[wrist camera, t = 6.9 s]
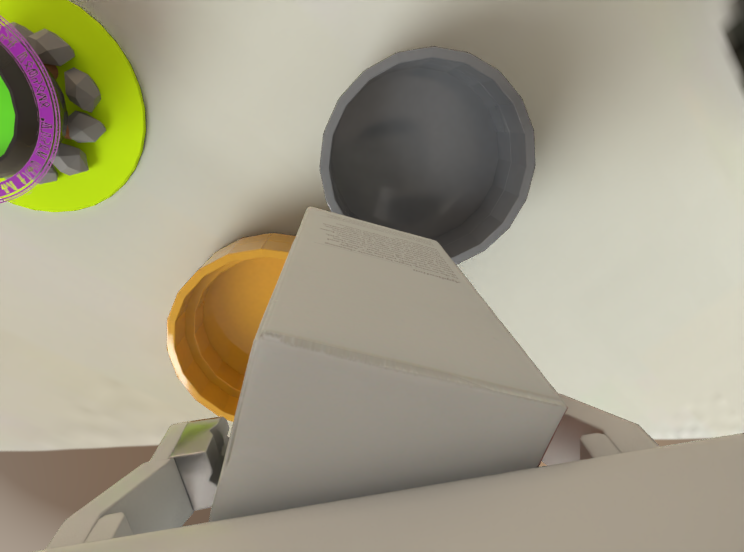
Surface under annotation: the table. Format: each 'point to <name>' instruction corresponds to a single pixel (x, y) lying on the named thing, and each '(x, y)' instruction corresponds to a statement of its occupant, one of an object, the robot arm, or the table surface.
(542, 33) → the table surface
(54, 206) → the toy cauldron
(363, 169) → the pot
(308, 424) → the small box
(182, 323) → the bowl
